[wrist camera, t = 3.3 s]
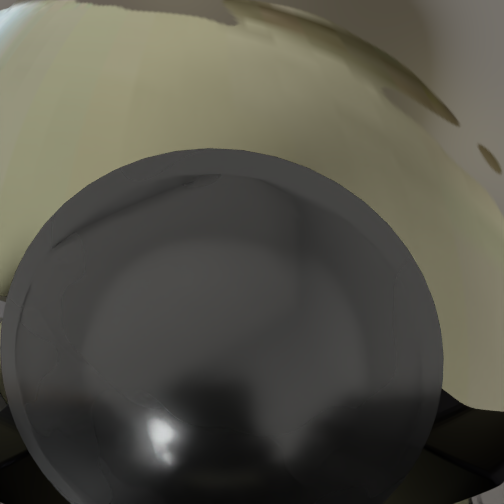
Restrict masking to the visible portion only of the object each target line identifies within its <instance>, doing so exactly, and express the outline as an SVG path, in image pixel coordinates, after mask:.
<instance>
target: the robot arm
mask: <svg viewBox="0 0 504 504" xmlns="http://www.w3.org/2000/svg"><path fill="white" fill-rule="evenodd" d="M0 504H71V503H70V502H69V501H68V500H67V499H66V498H65V497H64V496H63V495H61V494H60V493H59V491H58V490H57V489H56V488H55V487H54V486H53V485H52V483H51V482H50V481H49V480H48V479H47V477H46V476H45V475H44V474H43V472H42V471H41V469H40V468H39V466H38V465H37V464H36V462H35V460H34V459H33V457H32V456H31V454H30V453H29V451H28V449H27V447H26V445H25V443H24V441H23V439H22V437H21V435H20V433H19V431H18V429H17V427H16V424H15V422H14V419H13V416H12V413H11V410H10V407H9V404H8V405H7V406H5V407H4V408H3V409H2V410H1V411H0ZM383 504H504V412H500V411H490V410H481V409H475V408H471V407H469V406H466V405H464V404H462V403H460V402H459V401H458V400H456V399H455V398H454V397H452V396H451V395H450V394H448V393H447V392H446V391H444V390H443V389H441V395H440V400H439V405H438V410H437V414H436V417H435V420H434V423H433V426H432V429H431V432H430V435H429V437H428V439H427V441H426V443H425V445H424V447H423V450H422V452H421V454H420V455H419V457H418V459H417V461H416V462H415V464H414V466H413V467H412V469H411V470H410V472H409V473H408V475H407V476H406V477H405V479H404V480H403V482H402V483H401V484H400V485H399V486H398V488H397V489H396V490H395V491H394V492H393V493H392V494H391V496H390V497H389V498H388V499H387V500H386V501H385V502H384V503H383Z"/></svg>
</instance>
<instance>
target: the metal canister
mask: <svg viewBox="0 0 504 504" xmlns="http://www.w3.org/2000/svg"><path fill="white" fill-rule="evenodd" d="M0 353H1V367H2V377H3V382H4V387H5V392H6V396H7V400H8V404H9V407H10V410H11V413H12V416H13V419H14V422H15V424H16V427H17V429H18V431H19V433H20V435H21V437H22V439H23V441H24V443H25V445H26V447H27V449H28V451H29V453H30V454H31V456H32V457H33V459H34V460H35V462H36V464H37V465H38V466H39V468H40V469H41V471H42V472H43V474H44V475H45V476H46V477H47V479H48V480H49V481H50V482H51V483H52V485H53V486H54V487H55V488H56V489H57V490H58V491H59V493H60V494H61V495H63V496H64V497H65V498H66V499H67V500H68V501H69V502H70V503H71V504H383V503H384V502H385V501H386V500H387V499H388V498H389V497H390V496H391V494H392V493H393V492H394V491H395V490H396V489H397V488H398V486H399V485H400V484H401V483H402V482H403V480H404V479H405V477H406V476H407V475H408V473H409V472H410V470H411V469H412V467H413V466H414V464H415V462H416V461H417V459H418V457H419V455H420V454H421V452H422V450H423V447H424V445H425V443H426V441H427V439H428V437H429V435H430V432H431V429H432V426H433V423H434V420H435V417H436V414H437V410H438V405H439V400H440V395H441V389H442V381H443V346H442V336H441V329H440V324H439V320H438V316H437V312H436V308H435V304H434V301H433V298H432V296H431V293H430V291H429V288H428V286H427V283H426V281H425V279H424V276H423V274H422V272H421V271H420V269H419V267H418V265H417V264H416V262H415V260H414V259H413V257H412V255H411V254H410V252H409V250H408V249H407V247H406V246H405V245H404V243H403V242H402V241H401V240H400V238H399V237H398V236H397V235H396V233H395V232H394V231H393V230H392V228H391V227H390V226H389V225H388V224H387V223H386V222H385V221H384V220H383V219H382V218H381V217H380V216H379V215H378V214H377V213H376V212H375V211H374V210H373V209H372V208H370V207H369V206H368V205H367V204H366V203H365V202H364V201H362V200H361V199H360V198H358V197H357V196H355V195H354V194H353V193H351V192H350V191H348V190H347V189H345V188H344V187H343V186H341V185H340V184H338V183H336V182H335V181H333V180H331V179H329V178H327V177H325V176H323V175H321V174H319V173H317V172H315V171H313V170H311V169H309V168H307V167H304V166H301V165H298V164H296V163H293V162H290V161H287V160H284V159H281V158H278V157H275V156H270V155H265V154H260V153H255V152H250V151H244V150H232V149H213V148H207V149H194V150H183V151H174V152H170V153H165V154H161V155H157V156H152V157H148V158H144V159H141V160H139V161H136V162H133V163H131V164H128V165H126V166H123V167H121V168H118V169H116V170H114V171H112V172H110V173H108V174H106V175H105V176H103V177H101V178H99V179H98V180H96V181H94V182H92V183H91V184H89V185H87V186H86V187H85V188H83V189H82V190H81V191H80V192H78V193H77V194H76V195H74V196H73V197H72V198H71V199H69V200H68V201H67V202H66V203H64V204H63V205H62V206H61V207H60V208H59V210H58V211H57V212H56V213H55V214H54V215H53V216H52V217H51V218H50V219H49V220H48V221H47V222H46V223H45V224H44V226H43V227H42V228H41V230H40V231H39V233H38V234H37V235H36V237H35V238H34V240H33V241H32V243H31V244H30V245H29V247H28V249H27V251H26V252H25V254H24V256H23V258H22V260H21V262H20V264H19V266H18V268H17V270H16V272H15V275H14V278H13V281H12V284H11V286H10V289H9V293H8V296H7V299H6V304H5V309H4V314H3V320H2V327H1V347H0Z"/></svg>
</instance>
